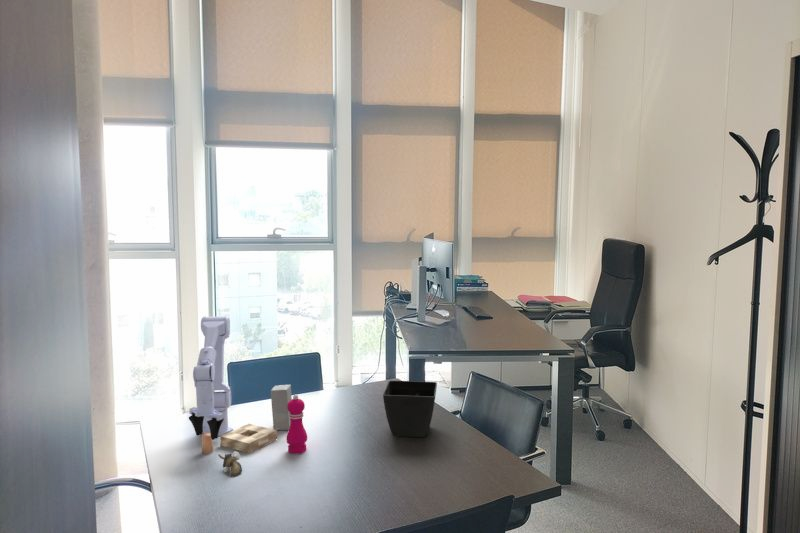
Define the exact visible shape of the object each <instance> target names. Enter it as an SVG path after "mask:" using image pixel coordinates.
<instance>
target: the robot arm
mask: <svg viewBox="0 0 800 533" xmlns="http://www.w3.org/2000/svg"><path fill="white" fill-rule="evenodd" d="M200 319H201V320H200V330H201V332H202V334H203V336H204V344H203V347H202V348H201V349H200V350H199V354H198V360H197V363H196V365H195V366H194V367H193V371H192V379H193V383H194V388H195V393H196V394H195V396H196V398H195V399H196V407H195V406H194V407H193V406H192V407H191V408H188V409H189V417H188V420H189V421H190V422H191V424H192V426H193V429H194V433H195V435H196V436H197V437H199V436H200V435H202V434H205V433H211V439H212V440H214V441H215V440H216V439H218V437H220V436H222V435H224V434H226V433H229V432H231V431H233V430H234V428H232V427H229V418H228V417H229V416H228V413H229V412H228V409H229V408H230V407H231V406H232V392H231V390H232V388H231V386H229V385H227V384H226V383H225V382H224V365H225V364H224V362H225V361H224V360H225V359H224V358H225V356H224V355H225V341H226V340H227V339H228V338H230V334H231V332H230V331H231V320H230V317H229V316H228V315H225V316H224V315H223V316H220V315H219V316H202V318H200Z"/></svg>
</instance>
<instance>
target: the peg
mask: <svg viewBox="0 0 800 533" xmlns="http://www.w3.org/2000/svg"><path fill="white" fill-rule="evenodd" d="M201 452H202V454H211V453H213V452H214V442H213V440H212V439H211V433H202V434H201Z"/></svg>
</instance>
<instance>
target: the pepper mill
mask: <svg viewBox="0 0 800 533" xmlns="http://www.w3.org/2000/svg"><path fill="white" fill-rule="evenodd" d="M305 406H306V405H305V402H304V401H303V399H301V398H299V396H298V395H297V394H294V395H293V396H292V400H290V401H289V402H288V405H287V409H288V411H289V412H290V413H289V418H290V421H291V422H290V428H289V430H287V434H286V438H285V439H286V442H287V444H288V446H287V452H288V451H289V452H290V454H292V453H293V455H298V454H303V453H305V452H306V451H307V444H306V443H307V441H308V433H307V431H306V429H305V427H304V423H303V418H304V410H305ZM289 452H288V453H289Z"/></svg>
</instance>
